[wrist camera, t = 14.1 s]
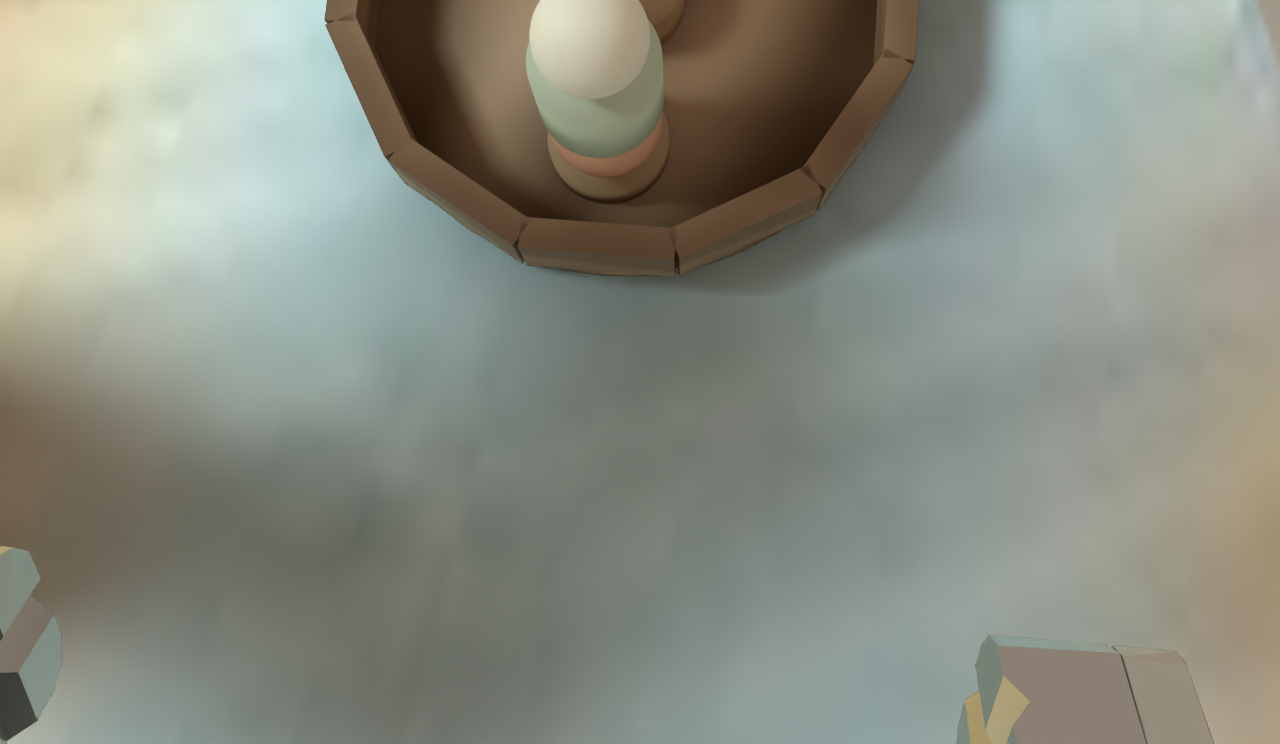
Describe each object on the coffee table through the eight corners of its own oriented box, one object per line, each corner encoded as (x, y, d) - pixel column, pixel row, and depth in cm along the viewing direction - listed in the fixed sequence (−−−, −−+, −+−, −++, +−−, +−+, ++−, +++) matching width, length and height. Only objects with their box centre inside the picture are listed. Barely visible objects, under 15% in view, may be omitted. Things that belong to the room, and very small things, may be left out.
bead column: (545, 199, 41) (498, 81, 31) (556, 85, 41) (514, -69, 31) (664, 208, 41) (657, 91, 30) (674, 93, 41) (670, -59, 31)
